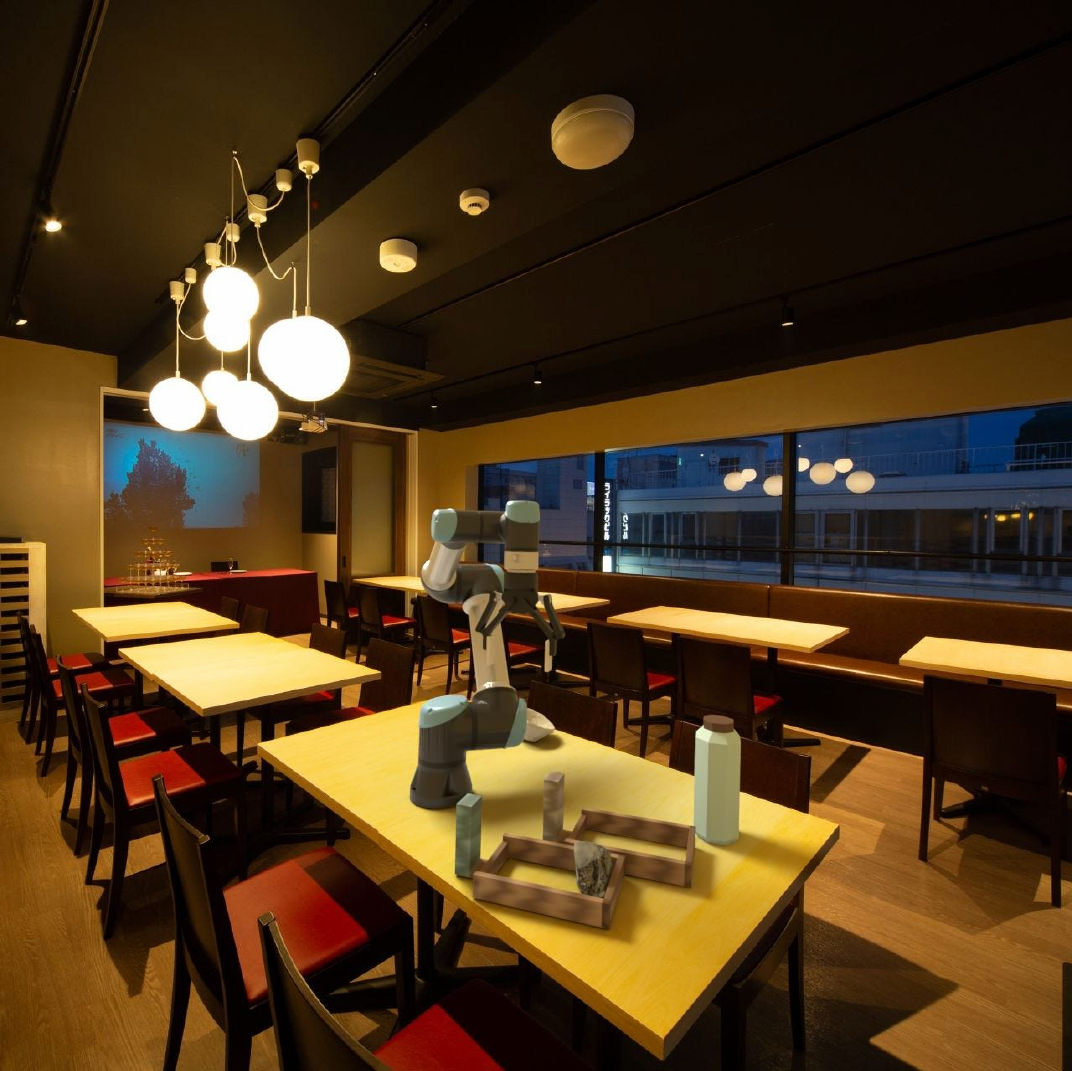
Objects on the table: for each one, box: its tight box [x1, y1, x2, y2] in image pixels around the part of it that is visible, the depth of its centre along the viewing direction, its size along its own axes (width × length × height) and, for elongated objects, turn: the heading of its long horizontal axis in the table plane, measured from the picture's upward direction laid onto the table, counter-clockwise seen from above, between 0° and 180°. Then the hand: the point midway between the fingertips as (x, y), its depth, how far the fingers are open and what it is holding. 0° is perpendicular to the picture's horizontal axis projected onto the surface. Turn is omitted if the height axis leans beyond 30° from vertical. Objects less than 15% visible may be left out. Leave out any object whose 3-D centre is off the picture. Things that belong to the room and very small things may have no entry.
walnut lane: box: [454, 793, 626, 930], centre depth 105 cm, size 30×15×13 cm, turn 72°
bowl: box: [523, 707, 556, 742], centre depth 182 cm, size 15×14×10 cm
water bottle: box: [692, 714, 742, 846], centre depth 125 cm, size 10×10×25 cm
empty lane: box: [542, 770, 696, 888], centre depth 117 cm, size 30×15×13 cm, turn 72°
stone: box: [574, 840, 613, 899], centre depth 103 cm, size 10×10×10 cm
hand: (518, 667), depth 127 cm, fingers open, 13 cm apart
